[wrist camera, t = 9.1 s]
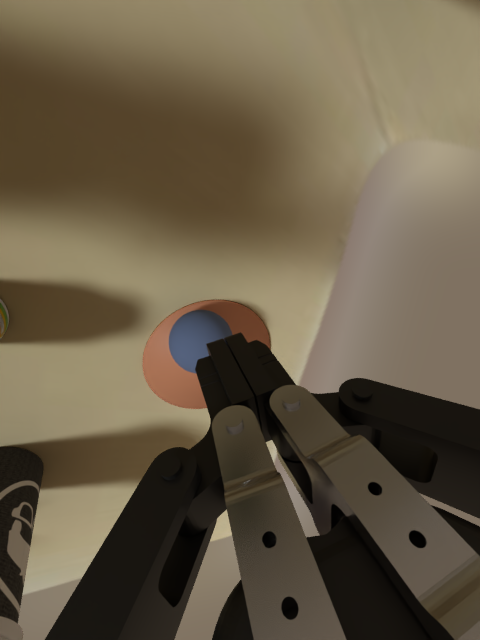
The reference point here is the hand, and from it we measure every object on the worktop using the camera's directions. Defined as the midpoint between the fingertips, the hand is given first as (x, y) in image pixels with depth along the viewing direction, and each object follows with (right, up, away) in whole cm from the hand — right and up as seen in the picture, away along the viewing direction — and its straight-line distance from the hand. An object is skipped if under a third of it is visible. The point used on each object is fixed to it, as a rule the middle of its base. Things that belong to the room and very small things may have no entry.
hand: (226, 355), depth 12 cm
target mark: (-2, -2, +18) cm, 18 cm away
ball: (-3, 0, +13) cm, 14 cm away
